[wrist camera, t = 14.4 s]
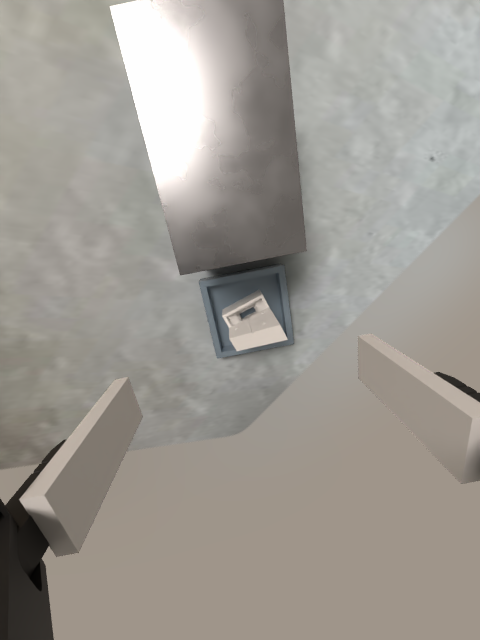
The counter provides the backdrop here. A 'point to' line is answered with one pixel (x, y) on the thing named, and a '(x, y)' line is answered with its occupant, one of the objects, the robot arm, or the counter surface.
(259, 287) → the tray
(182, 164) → the box
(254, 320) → the white wedge bracket
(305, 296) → the counter surface
